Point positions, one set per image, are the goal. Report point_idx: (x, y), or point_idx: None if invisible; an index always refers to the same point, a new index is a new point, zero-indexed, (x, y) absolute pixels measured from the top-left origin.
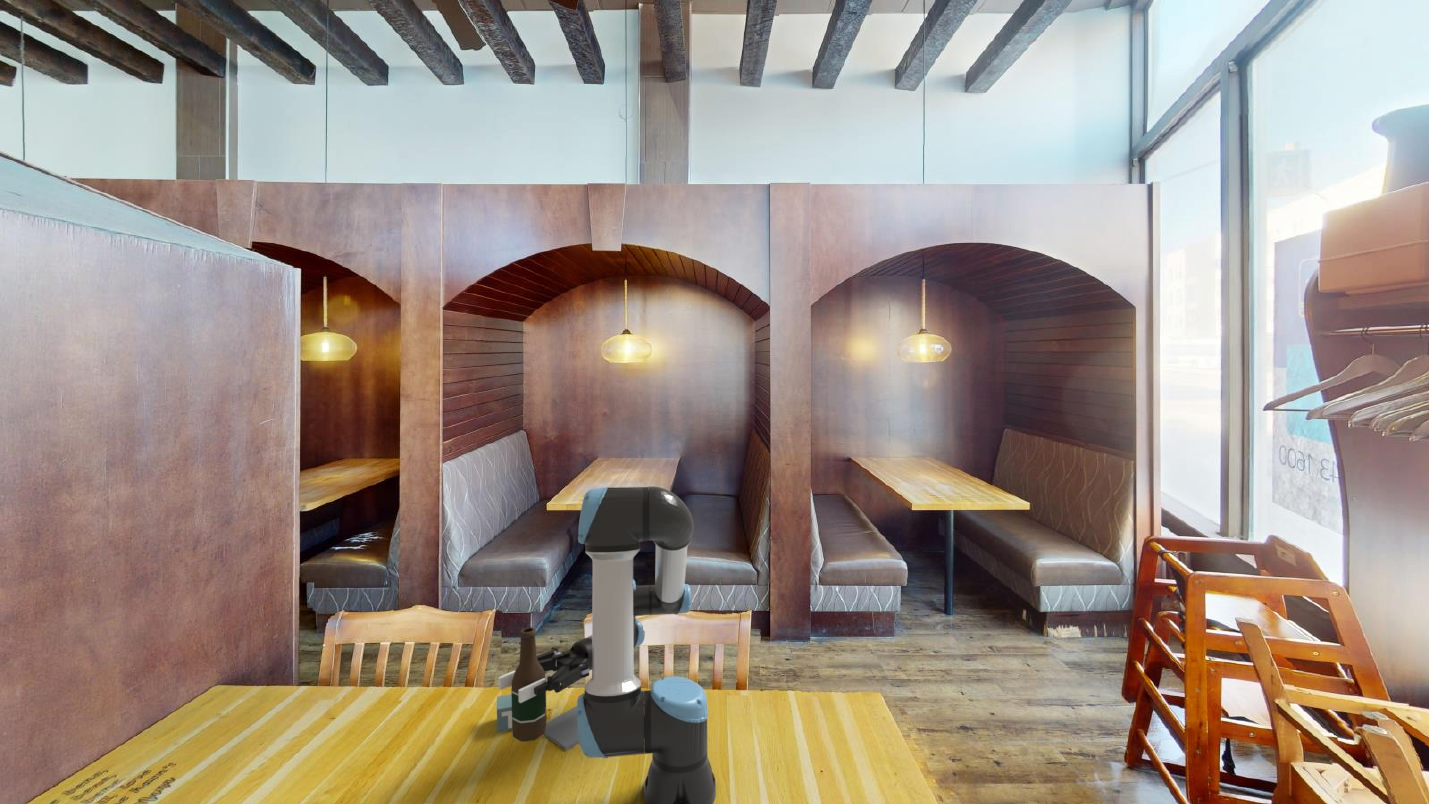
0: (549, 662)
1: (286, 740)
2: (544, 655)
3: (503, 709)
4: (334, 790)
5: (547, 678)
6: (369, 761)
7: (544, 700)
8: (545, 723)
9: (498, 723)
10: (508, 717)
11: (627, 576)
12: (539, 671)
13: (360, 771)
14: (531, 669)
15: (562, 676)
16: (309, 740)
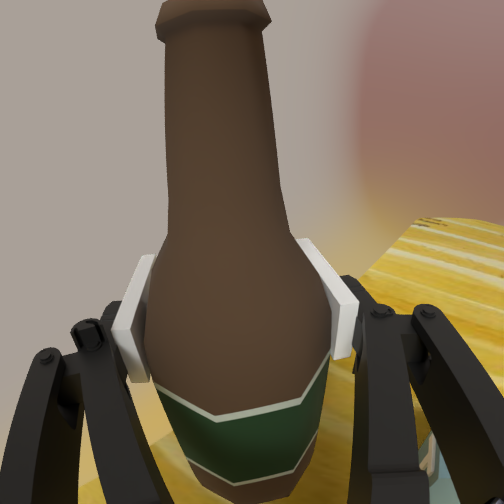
0: (366, 457)
1: (466, 257)
2: (483, 422)
3: None
4: (363, 279)
5: (98, 327)
6: (408, 299)
7: (170, 422)
8: (203, 480)
9: (425, 441)
10: (425, 456)
11: None
12: (152, 286)
13: (390, 294)
14: (166, 237)
15: (43, 398)
16: (464, 266)
